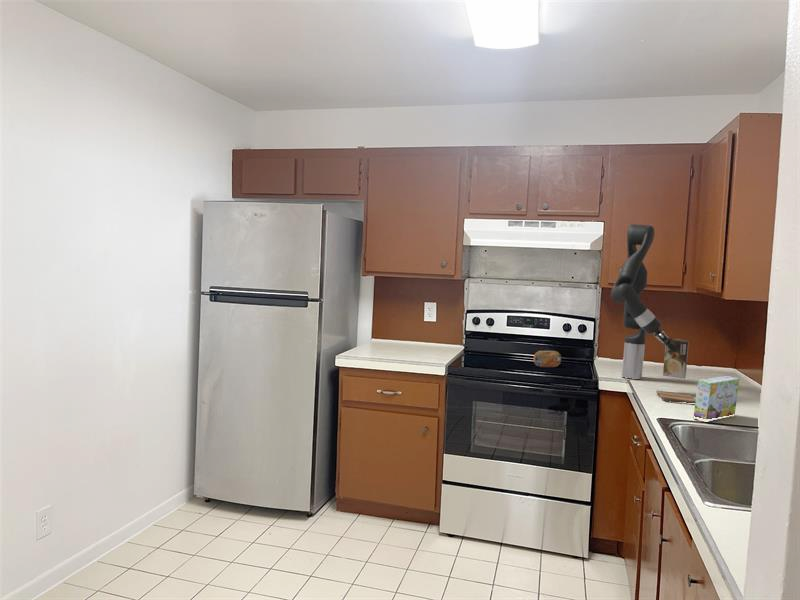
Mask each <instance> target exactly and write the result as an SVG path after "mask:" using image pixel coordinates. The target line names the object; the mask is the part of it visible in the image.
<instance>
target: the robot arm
mask: <svg viewBox="0 0 800 600" xmlns="http://www.w3.org/2000/svg"><path fill="white" fill-rule="evenodd" d="M626 235H627V237H626V244H627V245H626V247H627V249H626V251H627V259H626V260H625V261H624V262H623V264H622V267H621V270H620V272H619V276H618V278H617V279H616V281H615V282H614V284H613V286H612V288H611V291H610V298H611V300H612V301H614V302H615V303H623V302H624V309H623V318H622V321H623V322H622V323H623V327H624V328H626V329H630V330H631V329H632V330H638V332H635V333H634V334H630V335H626V336H625V337H624V344H623V346H624V347H623V357H622V367H621V368H622V369H621V377H622V376H623V377H627V378H632V379H631V380H633V379H641V380H642V379H643V369H644V358H645V346H646V334H647V335H651V334H653V336H654V337H655V338H656V339H657V340H658V341H659V342H660V343H662V344H663V345H664V346H665V345H666V346H667V347H668V348H669V349H670V350H671V351H672V352H673V353H674V352H675V351H677V349H676V347H675V346H674V345H673V344H672V342H671V341H670V340H669V338H670V337H669V336H668V335H667V334H666V332H665V331H663V329H660V327H662V322H661V321H660V320H659V319H658V317H656V316H655V314H654V313H653V312H652V311H651V310H650V309H648V307H646V305H645V304H644V303H643V302H642V301H641V299H640V297H639V296H640V295H642V293H643V292H644V290H645V289H646V287H647V285H648V270H647V267H646V266H645V264H644V259H645V257H646V256H647V254H648V252H649V249H650V248H651V246H652V244H653V242H654V239H655V228H654V227H653V226H652V225H648V224H636V223H635V224H630V225H629V227H628V229H627V234H626ZM637 246H640V247H639V248H638V249H637ZM667 340H668V342H667V343H666V341H667ZM623 377H622V378H623ZM627 378H626V379H627Z"/></svg>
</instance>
